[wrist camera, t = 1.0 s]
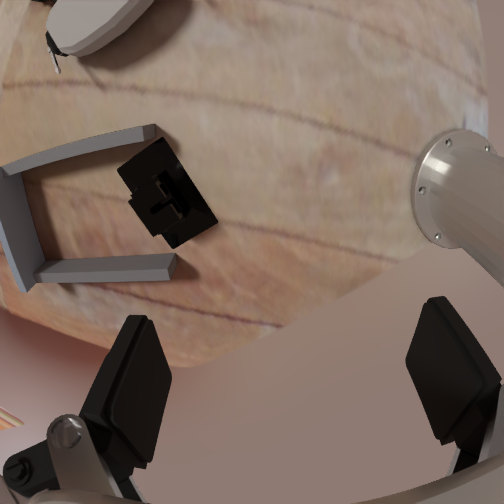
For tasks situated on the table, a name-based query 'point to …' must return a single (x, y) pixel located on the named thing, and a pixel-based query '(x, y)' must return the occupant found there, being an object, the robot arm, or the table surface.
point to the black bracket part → (165, 195)
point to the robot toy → (88, 24)
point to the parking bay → (26, 240)
